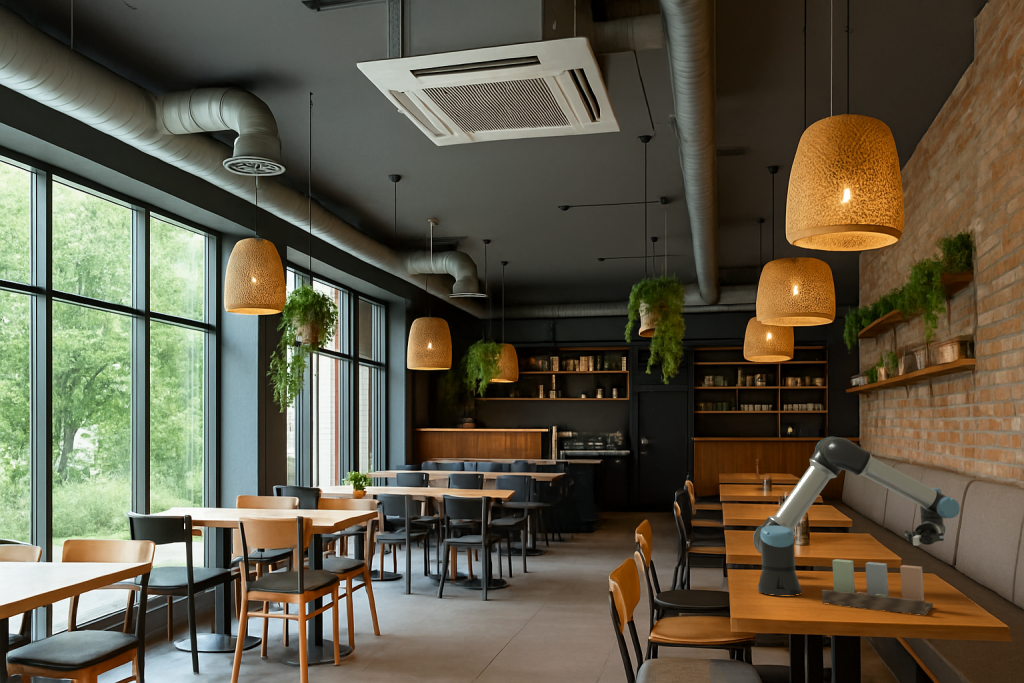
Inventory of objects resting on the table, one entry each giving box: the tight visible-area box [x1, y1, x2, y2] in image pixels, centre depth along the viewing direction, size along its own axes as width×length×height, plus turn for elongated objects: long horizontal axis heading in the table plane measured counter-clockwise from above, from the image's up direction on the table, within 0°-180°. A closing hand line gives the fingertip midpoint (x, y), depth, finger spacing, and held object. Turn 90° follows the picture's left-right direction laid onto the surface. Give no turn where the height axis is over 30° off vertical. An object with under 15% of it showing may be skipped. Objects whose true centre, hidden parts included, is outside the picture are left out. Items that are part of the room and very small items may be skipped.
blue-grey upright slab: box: [865, 561, 890, 597], centre depth 278 cm, size 6×4×12 cm, turn 53°
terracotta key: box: [899, 564, 925, 601], centre depth 272 cm, size 6×4×12 cm, turn 54°
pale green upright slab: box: [831, 558, 856, 593], centre depth 285 cm, size 6×4×12 cm, turn 54°
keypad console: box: [821, 589, 934, 616], centre depth 276 cm, size 32×14×5 cm, turn 53°
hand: (915, 541), depth 280 cm, fingers closed
